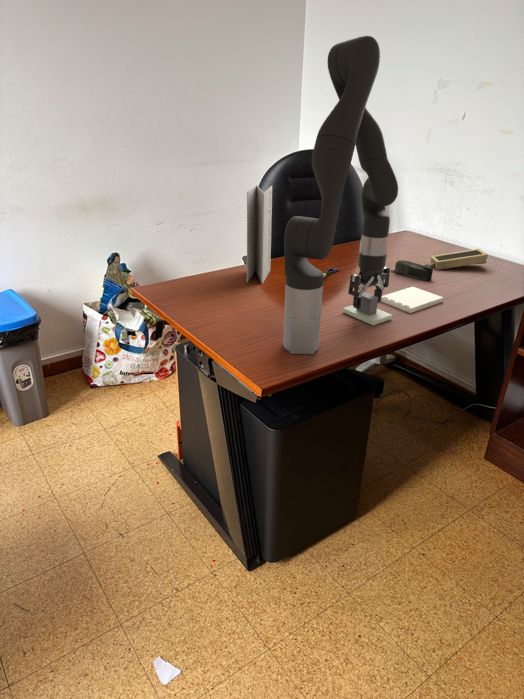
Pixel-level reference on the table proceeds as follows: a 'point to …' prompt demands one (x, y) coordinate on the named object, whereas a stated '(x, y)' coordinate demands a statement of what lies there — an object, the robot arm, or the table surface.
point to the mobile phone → (413, 270)
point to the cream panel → (411, 299)
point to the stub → (368, 310)
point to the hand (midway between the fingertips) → (366, 305)
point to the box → (458, 259)
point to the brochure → (259, 232)
